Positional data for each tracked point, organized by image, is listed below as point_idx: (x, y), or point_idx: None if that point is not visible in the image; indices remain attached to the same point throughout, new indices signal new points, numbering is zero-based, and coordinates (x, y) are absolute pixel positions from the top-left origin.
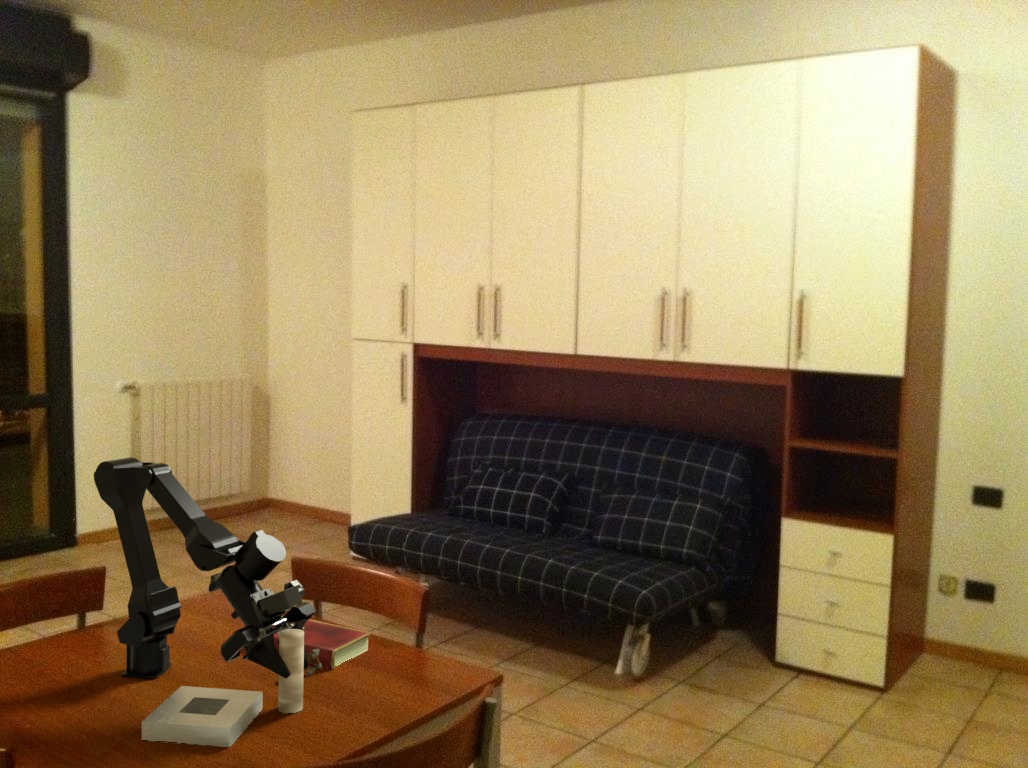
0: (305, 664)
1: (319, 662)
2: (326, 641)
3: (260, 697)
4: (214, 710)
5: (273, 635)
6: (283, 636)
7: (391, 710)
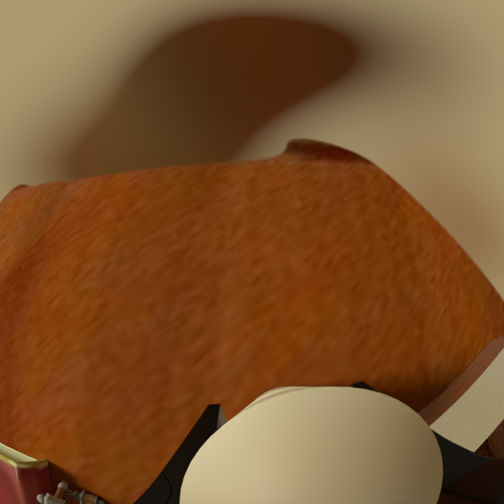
0: (222, 417)
1: (58, 488)
2: (3, 498)
3: None
4: None
5: (494, 501)
6: (441, 476)
7: (151, 216)
